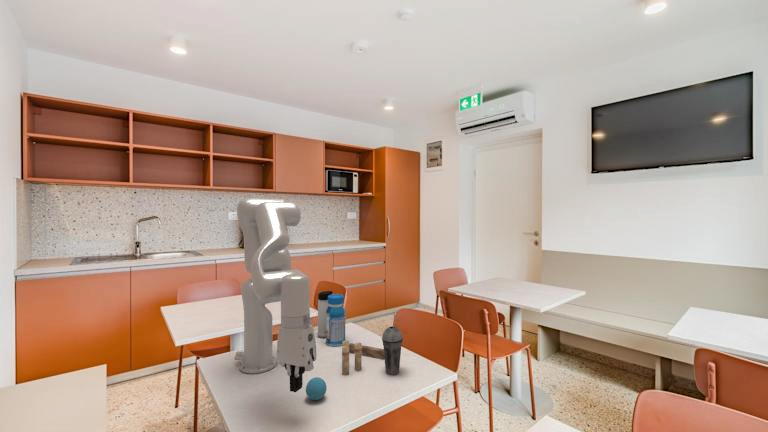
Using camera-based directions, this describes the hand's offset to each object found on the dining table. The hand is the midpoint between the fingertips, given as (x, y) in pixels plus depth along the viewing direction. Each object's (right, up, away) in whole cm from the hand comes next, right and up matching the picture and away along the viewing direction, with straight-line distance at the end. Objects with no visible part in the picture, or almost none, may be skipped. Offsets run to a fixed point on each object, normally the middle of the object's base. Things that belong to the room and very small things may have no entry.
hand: (296, 389), depth 89 cm
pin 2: (+14, -8, +28) cm, 32 cm away
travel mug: (-3, -8, +60) cm, 60 cm away
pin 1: (+10, -8, +30) cm, 32 cm away
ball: (+3, -5, +9) cm, 11 cm away
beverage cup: (+26, -8, +26) cm, 38 cm away
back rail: (+17, -7, +40) cm, 44 cm away
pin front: (+10, -8, +25) cm, 28 cm away
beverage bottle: (+3, -8, +52) cm, 53 cm away
